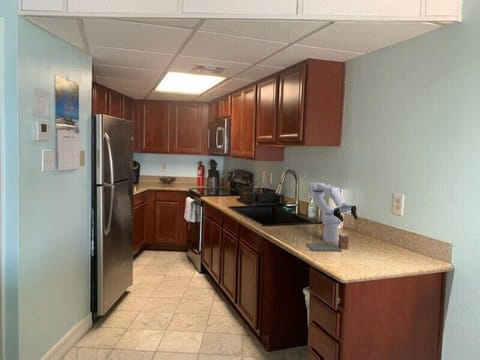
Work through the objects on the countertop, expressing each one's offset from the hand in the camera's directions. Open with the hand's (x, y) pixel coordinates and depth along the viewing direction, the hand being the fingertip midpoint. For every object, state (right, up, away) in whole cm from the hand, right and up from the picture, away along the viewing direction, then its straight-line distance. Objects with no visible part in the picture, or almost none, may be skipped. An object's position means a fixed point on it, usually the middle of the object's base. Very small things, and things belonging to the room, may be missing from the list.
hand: (349, 219), depth 202 cm
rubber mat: (-13, -16, +4) cm, 21 cm away
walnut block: (-2, -16, +4) cm, 17 cm away
